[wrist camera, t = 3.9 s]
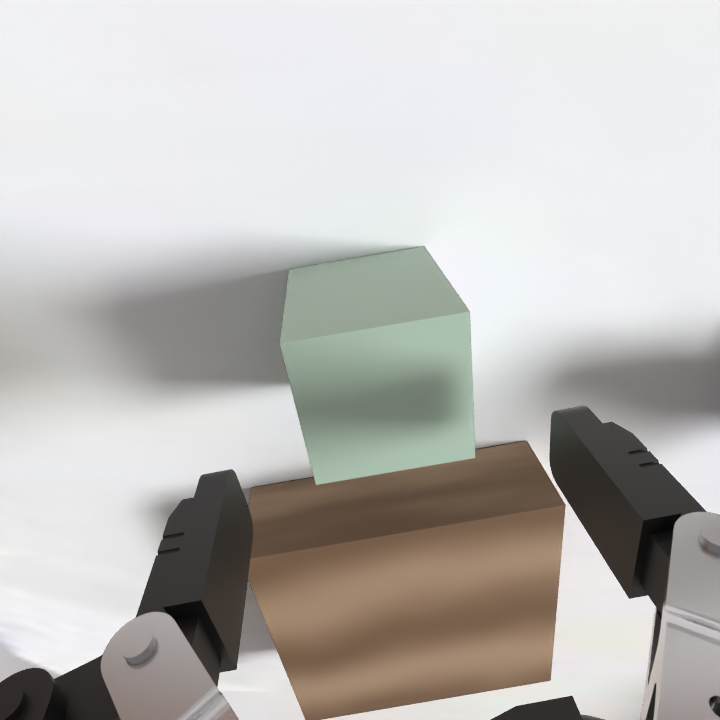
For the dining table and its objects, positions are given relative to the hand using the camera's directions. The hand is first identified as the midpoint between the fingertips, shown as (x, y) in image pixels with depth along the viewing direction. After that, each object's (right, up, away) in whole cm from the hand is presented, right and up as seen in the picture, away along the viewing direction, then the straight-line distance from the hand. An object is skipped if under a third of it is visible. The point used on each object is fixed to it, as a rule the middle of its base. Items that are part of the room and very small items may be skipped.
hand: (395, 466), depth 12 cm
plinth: (+1, -8, +14) cm, 16 cm away
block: (-1, +4, +7) cm, 8 cm away
